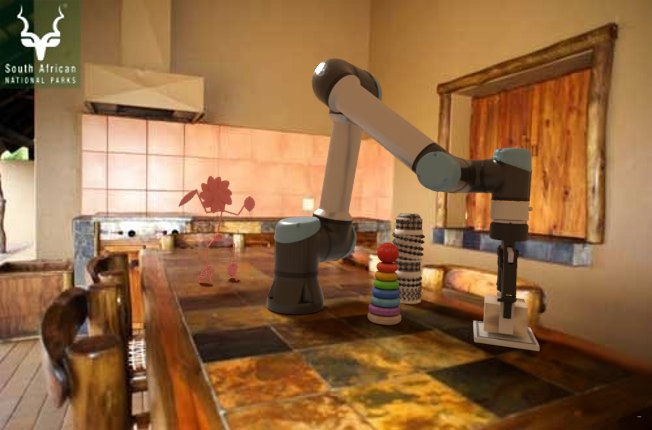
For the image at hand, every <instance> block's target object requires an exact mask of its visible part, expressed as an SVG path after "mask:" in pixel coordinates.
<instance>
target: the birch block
mask: <svg viewBox="0 0 652 430" xmlns="http://www.w3.org/2000/svg"><path fill="white" fill-rule="evenodd" d="M497 298H501V296H497V295H493V294H484V304H483V305H484V307H483V322H484V331H487V332H494V333H499V332H498V327H499V308H500V302H497ZM516 298H517V301H516V302H515V306H514V325H513V335H515V336H521V337H526V329H527V327H528V310H529V309H528V306H527V303H526V300H525V298H519V297H516ZM501 334H504V333H501ZM508 335H512V334H508Z"/></svg>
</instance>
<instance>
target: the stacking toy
mask: <svg viewBox="0 0 652 430" xmlns="http://www.w3.org/2000/svg"><path fill="white" fill-rule="evenodd" d="M398 255H399V251H398V248H397V247H396V246H395V245H394V243H393V242H383V243H381V244H380V245H379V246H378V248H377V250H376V256H377V258H378V260H379V262H378V263H376V265H375V266H376V271H375V272H374V278H375V279H374V281H373V286H374V287H373V288H372V290H371V294H372V295H371V297H370V302H371V303H369V305H368V313H367V319H368V320H369V321H370V322H372V323H373V324H376V325H377V324H378V325H383V326H393V325H397V324H399V323H401V320H402V315H401V314H400V312H401V307H400V305H401V303H400V298H399V297H398V296H399V294H400V292H399V290H398V289H397V288H398V287H399V282H398V281H397V278H398V274H397V273H396V272H395V271H397V269H398V266H397V264H396V263H394V262H395V261H396V260H397V258H398Z"/></svg>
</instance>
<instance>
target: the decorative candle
mask: <svg viewBox="0 0 652 430" xmlns="http://www.w3.org/2000/svg"><path fill="white" fill-rule="evenodd" d="M394 219H395V229H394V232H393V233H392V234H391V235H392V236H393V237H394V239H392V242H391V243H392V244H394V245H395V246H396V247H397V248H398V251H399V255H398V258H397V260H396V261H395V262H393V263H396V264H397V266H398V269H397V271H395V272H396V273H397V274H398V278H397V281H398V282H399V287H398V288H397V289H398V290H399V292H400V294H399V296H398V297H399V298H400V304H405V305H416V304H419V303H421V301H422V300H421V297H422V288H421V287H420V286H422V279H423V277H422V270H421V268H422V266H421V265H422V262H423V258H421V257H423V256H424V253H423V252H422V251H424V250H425V249H424V247H423V246H422V245H424V244H425V243H426V242H425V240H423V239H425V237H426V236H425V235H424V234H423V231H424V229H423V220H424V218H421V215H420V214H419V213H410V212H409V213H407V212H405V213H403V212H402V213H399V214H398V215H397V217H395V218H394Z"/></svg>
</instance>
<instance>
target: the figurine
mask: <svg viewBox="0 0 652 430" xmlns="http://www.w3.org/2000/svg"><path fill="white" fill-rule="evenodd" d="M200 187H201V192H199V191H198V189H197V188H195V189H194V190H191V191H189V192H188V193H186V194H185V195H184V196H183V197H182V198H181V200H180V202H179V204H178V207H179V208H180V207H182V206H184V205H186V204H187V203H189V202H190V201H191V200H192V199H194V197H195V195H197V197H198V199H199V201H200V203H201V206H202V208H203V210H204V212H205V214H216V213H218V212H220V215H219V221H218V227H217V231H216V233H215V234H214V237H213V239H212V240H211V241H210V242H209V243H208V245H206V267H205V268H204V269H203V270H202V272H201V273H200V275H199V276H200V277H199V280H198V281H199V283H201V282H202V281H203V280H204V279H205V278H206V277H207V276H206V275H209V281H210V285H211V284H214V283H213V278H212V274H211V268H212V266H211V264H209V250H208V249H209V246H210V245H212V243H213V242H214V241H216V242H221V241H222V240H223V241H226V242H228V243H230V244H232V245H233V249H232V250H233V251H232V261H231V263H230V264H229V265H228V266H227V268H226V272H227V275H228V276H230V277H232V278H233V277H234V278H235V282H237V281H238V276H237V274H236V273H237V272H238V270H239V266H238V264H237V263H236V262H235V261H234V258H235V249H236V244H235V242H232V241H229V240H228V239H226V238H224V236H223V234H222V233H220V232H219V231H220V228H221V227H220V226H221V223H222V219H223V218H222V217H223V213H227V214H231V215H233V216H234V215H235V216H236V217H239V215H240V214H241V213H242V211H243V210H244V208H245V210H247V211H248V212H249V213H250V212H252V211H253V209H254V208H255V205H256V201H255V199H254V198H253V197H252V196H250V195H248V197H246V198H245V199H244V200H243V205H242V207H241V208H240V210H239V211H238V212H237V213H235V212H231V211H229V210H226V205H227V206H232V204H233V200H232V197H231V196H232V194H233V192H232V190H231V189H229V187H230V181H229V180H225V179H224V180H222V177H221V176H216V177H215V178H214V177H213V175H209V176H208V178H207V181H206V183H205V182H202V183H201V184H200ZM208 208H210V210H209V211H208V210H207V209H208ZM251 279H253V277H252V276H251Z"/></svg>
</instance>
